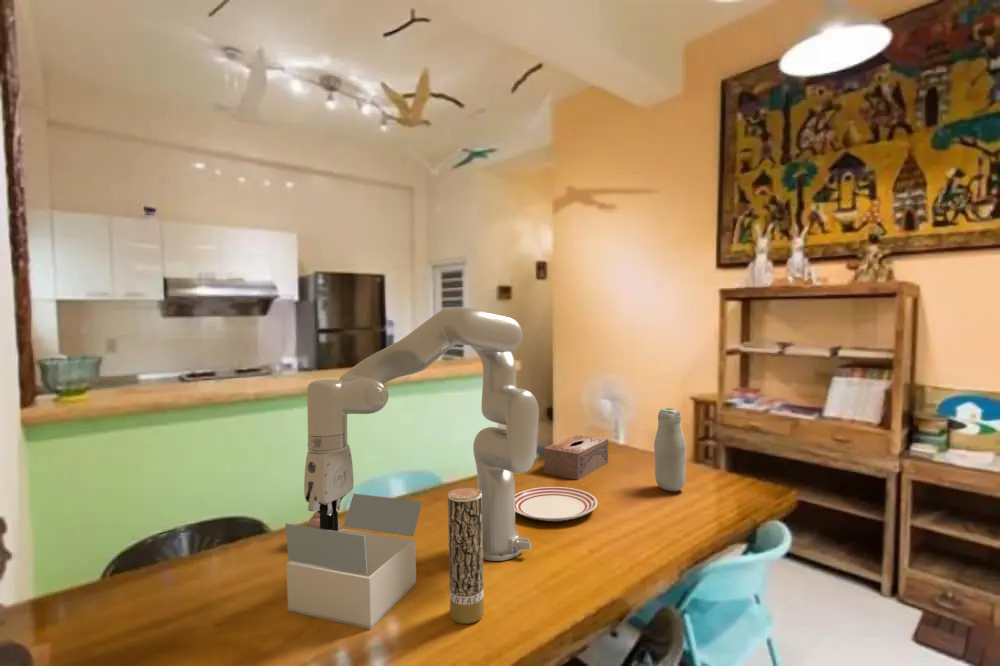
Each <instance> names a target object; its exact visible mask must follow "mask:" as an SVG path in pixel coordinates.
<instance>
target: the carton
mask: <svg viewBox="0 0 1000 666" xmlns="http://www.w3.org/2000/svg"><path fill="white" fill-rule="evenodd" d="M339 531H340V532H346V533H353V534H360V535H365V544H366V558H367V572H368V574H362V573H356V572H351V571H345V570H340V569H334V568H328V567H323V566H317V565H312V564H306V563H301V562H295V561H290V560H289V561H287V563H286V584H287V585H286V589H287V590H286V591H287V593H286V594H287V611H288V612H291V613H294V614H301V615H305V616H309V617H314V618H318V619H322V620H327V621H332V622H336V623H339V624H340V623H341V624H345V625H350V626H353V627H354V626H355V627H358V628H364V629H367V630H372V629H373V628H374V627H375V626H376V624H378V623H379V622H380V621H381V620H382V619H383V618H384V617H385V616H386V615H387V614H388V613H389V611H391V610H392V609H393V607H394V606H396V604H397V603H398V602H399V601H400V600H401V599H402V598H404V597H405V595H407V594H408V593H409V591H410V590H411V589H412V588H413V587H415V585H416V584H417V565H416V564H417V562H416V560H417V559H416V555H417V554H416V539H411V538H404V537H397V536H393V535H392V536H391V535H387V534H386V535H385V534H379V533H378V534H377V533H371V532H365V531H357V530H352V529H345V528H339Z"/></svg>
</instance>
